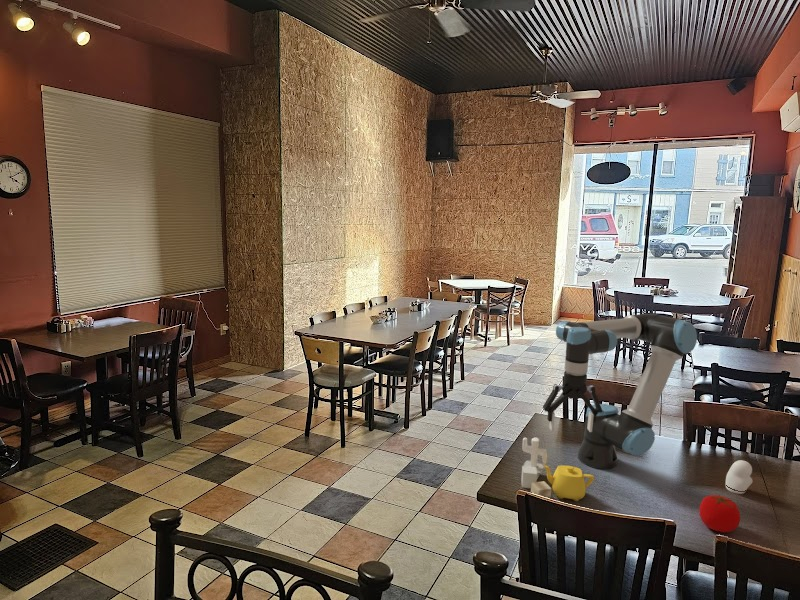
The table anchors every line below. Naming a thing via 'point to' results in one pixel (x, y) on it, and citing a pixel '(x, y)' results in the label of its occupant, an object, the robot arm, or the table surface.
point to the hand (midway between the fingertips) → (570, 430)
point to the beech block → (541, 489)
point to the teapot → (569, 482)
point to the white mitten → (739, 476)
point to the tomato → (719, 513)
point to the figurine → (535, 454)
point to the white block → (528, 476)
